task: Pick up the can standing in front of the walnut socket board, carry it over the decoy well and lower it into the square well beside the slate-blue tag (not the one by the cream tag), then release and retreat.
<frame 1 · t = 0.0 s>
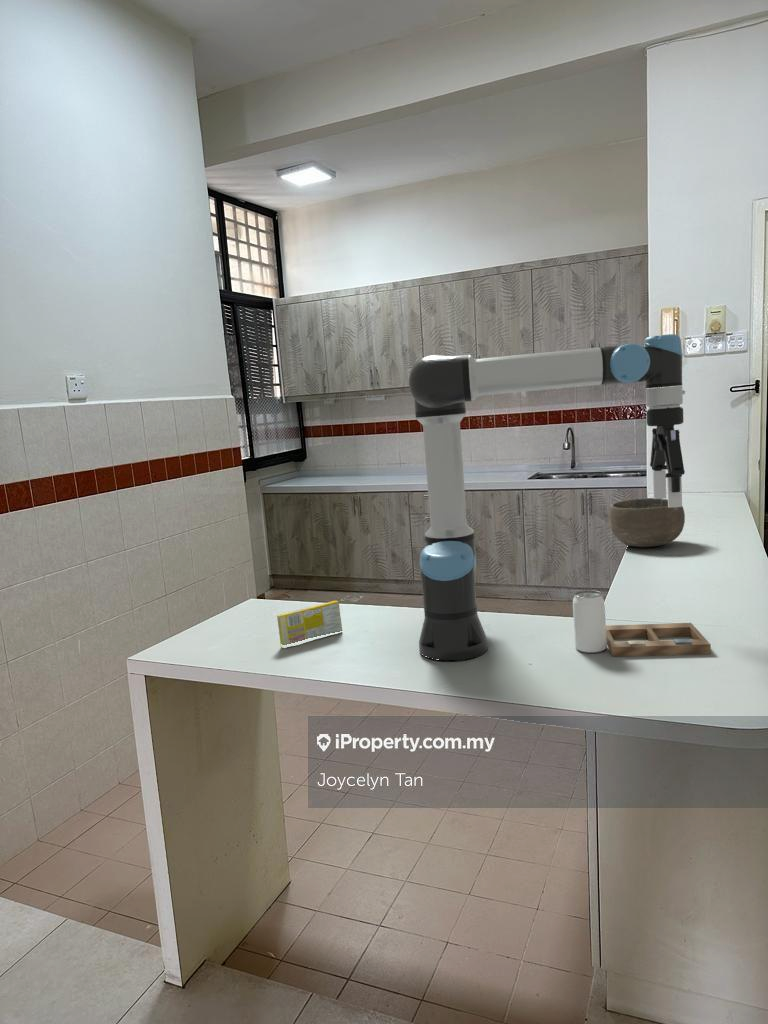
hand: (667, 502, 157), 28 cm above the countertop, fingers open, 13 cm apart
can: (591, 649, 149), on the countertop
bowl: (647, 545, 243), on the countertop
socket board: (653, 643, 149), on the countertop
candy box: (312, 641, 171), on the countertop
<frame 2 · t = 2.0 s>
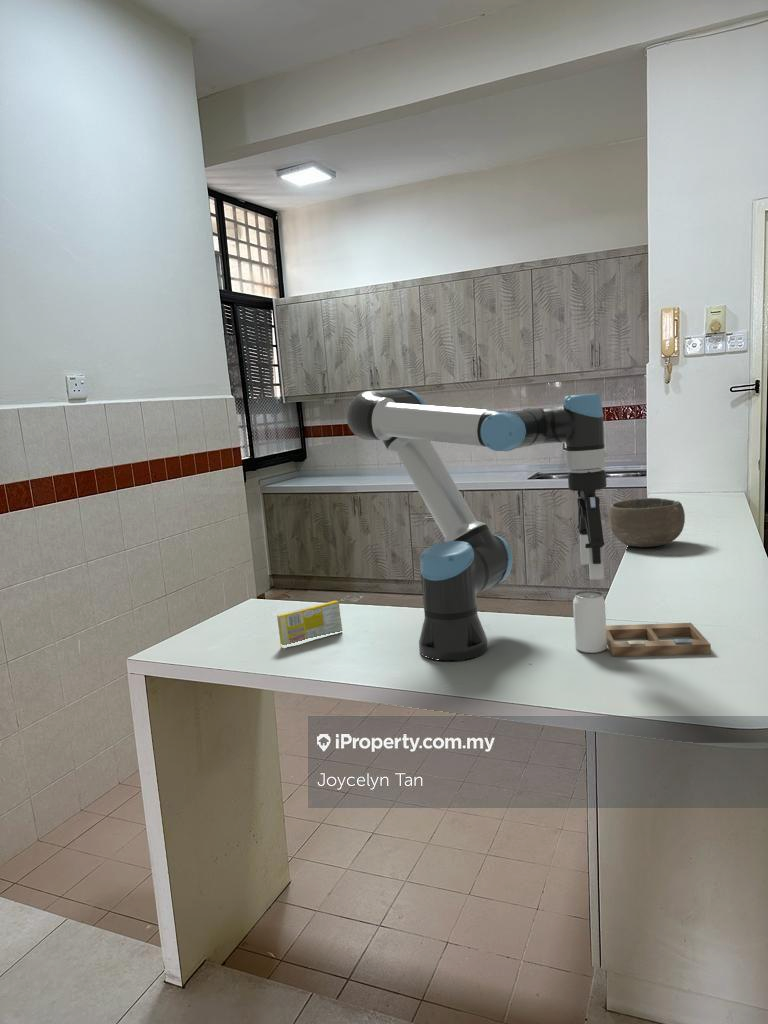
hand: (592, 571, 147), 17 cm above the countertop, fingers open, 13 cm apart
nothing on the countertop moved.
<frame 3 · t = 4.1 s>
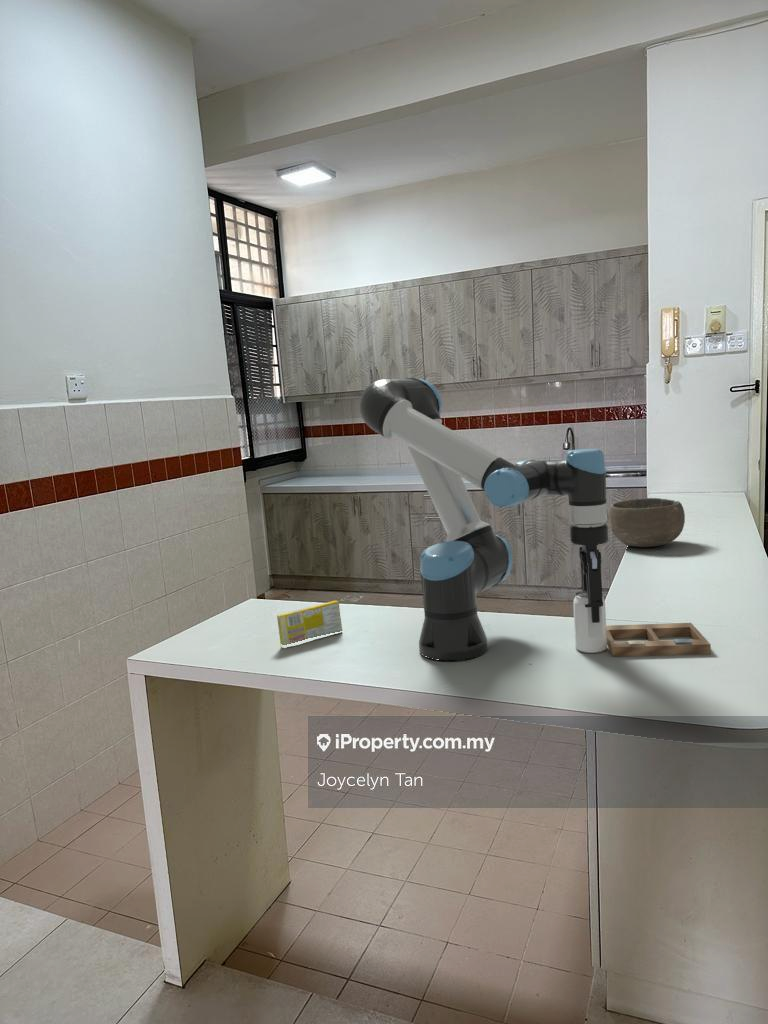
hand: (593, 630, 149), 4 cm above the countertop, fingers closed on can, 6 cm apart
can: (591, 649, 149), on the countertop, touching gripper
everything else where it was.
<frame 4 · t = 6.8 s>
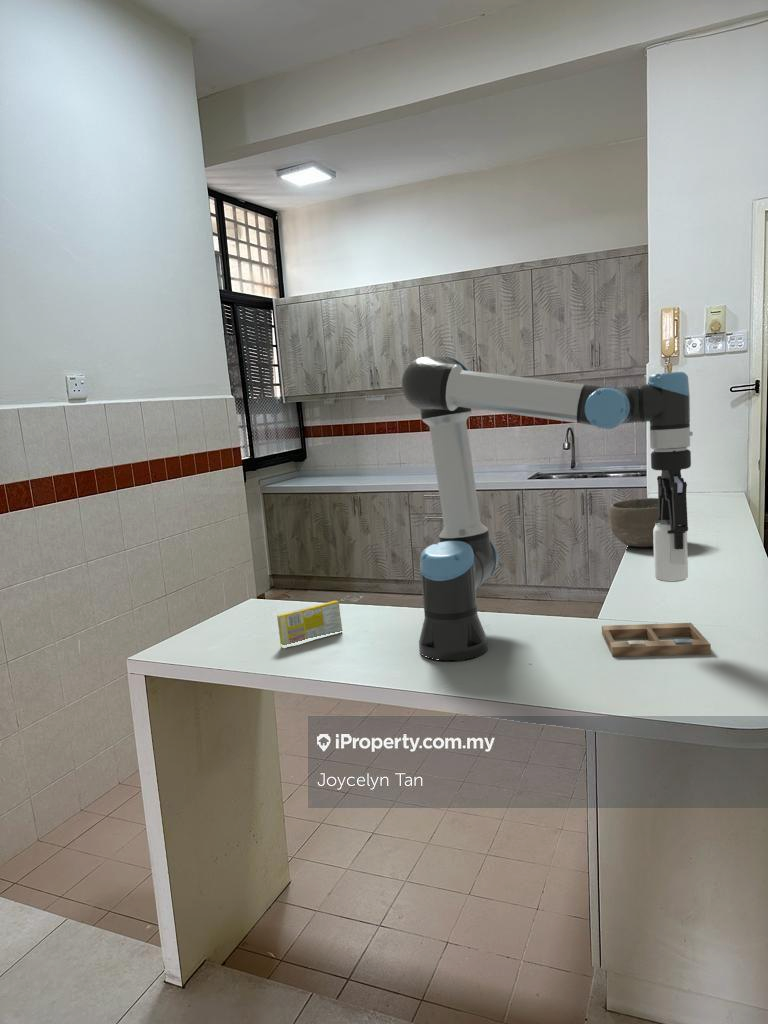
hand: (673, 560, 146), 18 cm above the countertop, fingers closed on can, 6 cm apart
can: (671, 579, 147), point 14 cm above the countertop, touching gripper
everything else where it was.
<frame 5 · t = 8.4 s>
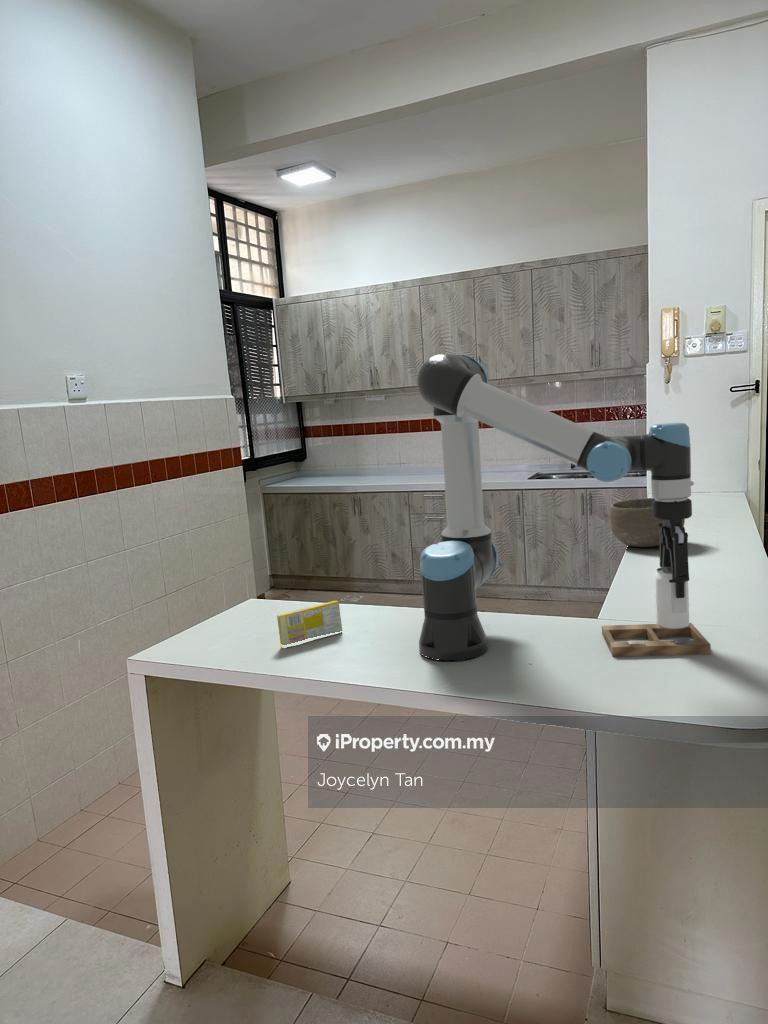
hand: (674, 607, 147), 8 cm above the countertop, fingers closed on can, 6 cm apart
can: (672, 626, 148), point 4 cm above the countertop, touching gripper
everything else where it was.
when the fingers open (7 cm above the countertop, at t = 9.4 s): can drops 3 cm, resting in socket board.
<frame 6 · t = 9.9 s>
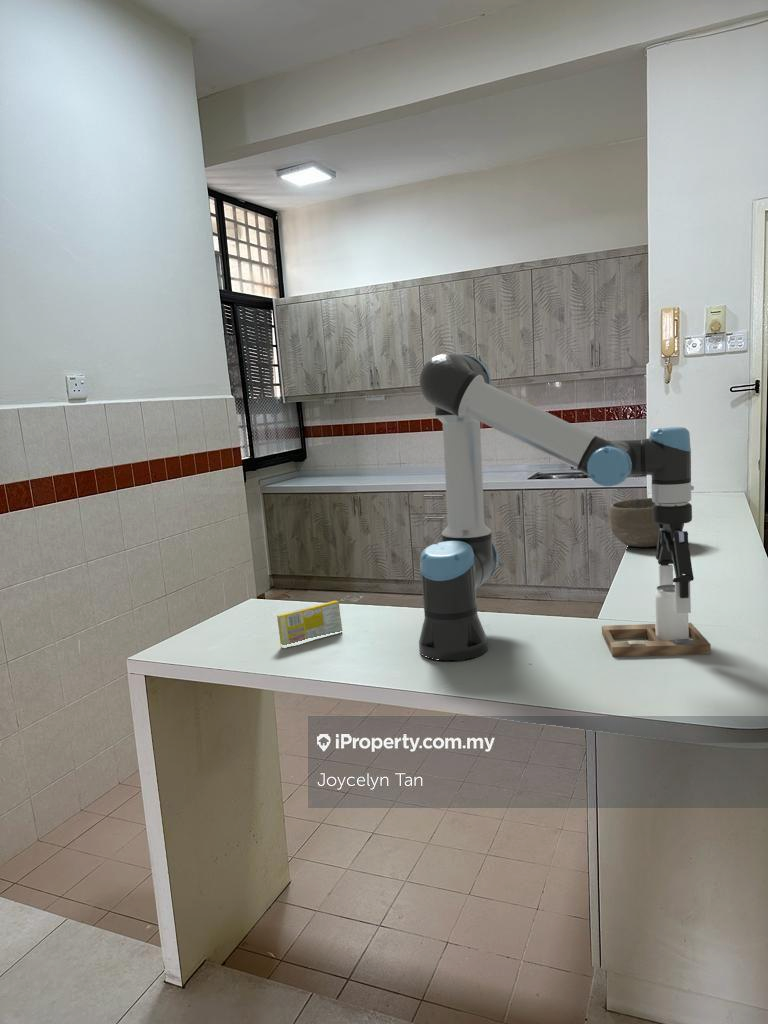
hand: (674, 603, 147), 9 cm above the countertop, fingers open, 13 cm apart
can: (672, 643, 149), resting in socket board
everything else where it was.
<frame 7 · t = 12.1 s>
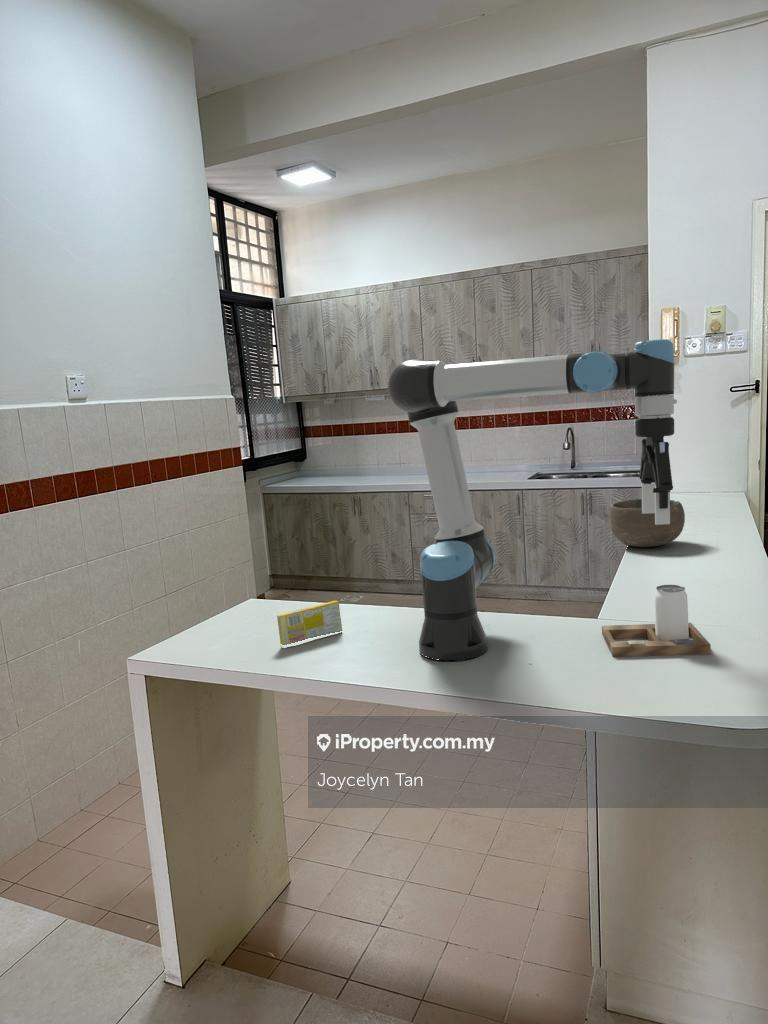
hand: (655, 518, 148), 26 cm above the countertop, fingers open, 13 cm apart
nothing on the countertop moved.
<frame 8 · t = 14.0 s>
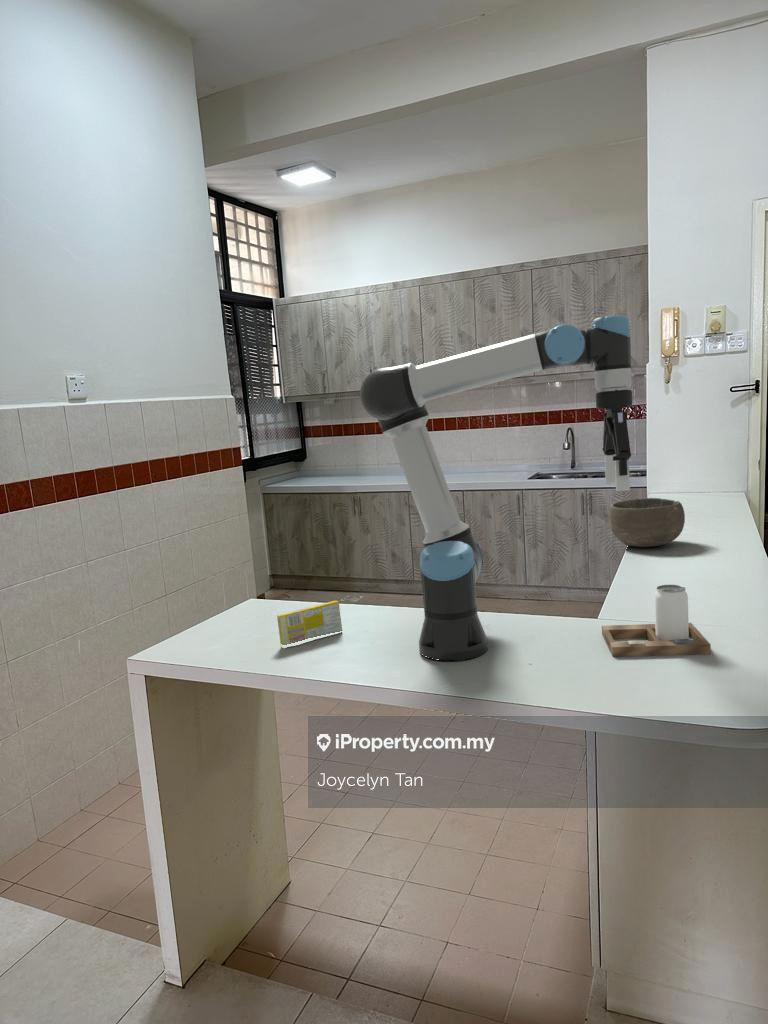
hand: (617, 487, 155), 33 cm above the countertop, fingers open, 13 cm apart
nothing on the countertop moved.
at the end: can 0.7 cm from the target spot on the socket board, point 0.0 cm above the socket board's base; can touching countertop; can tilted 0° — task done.
